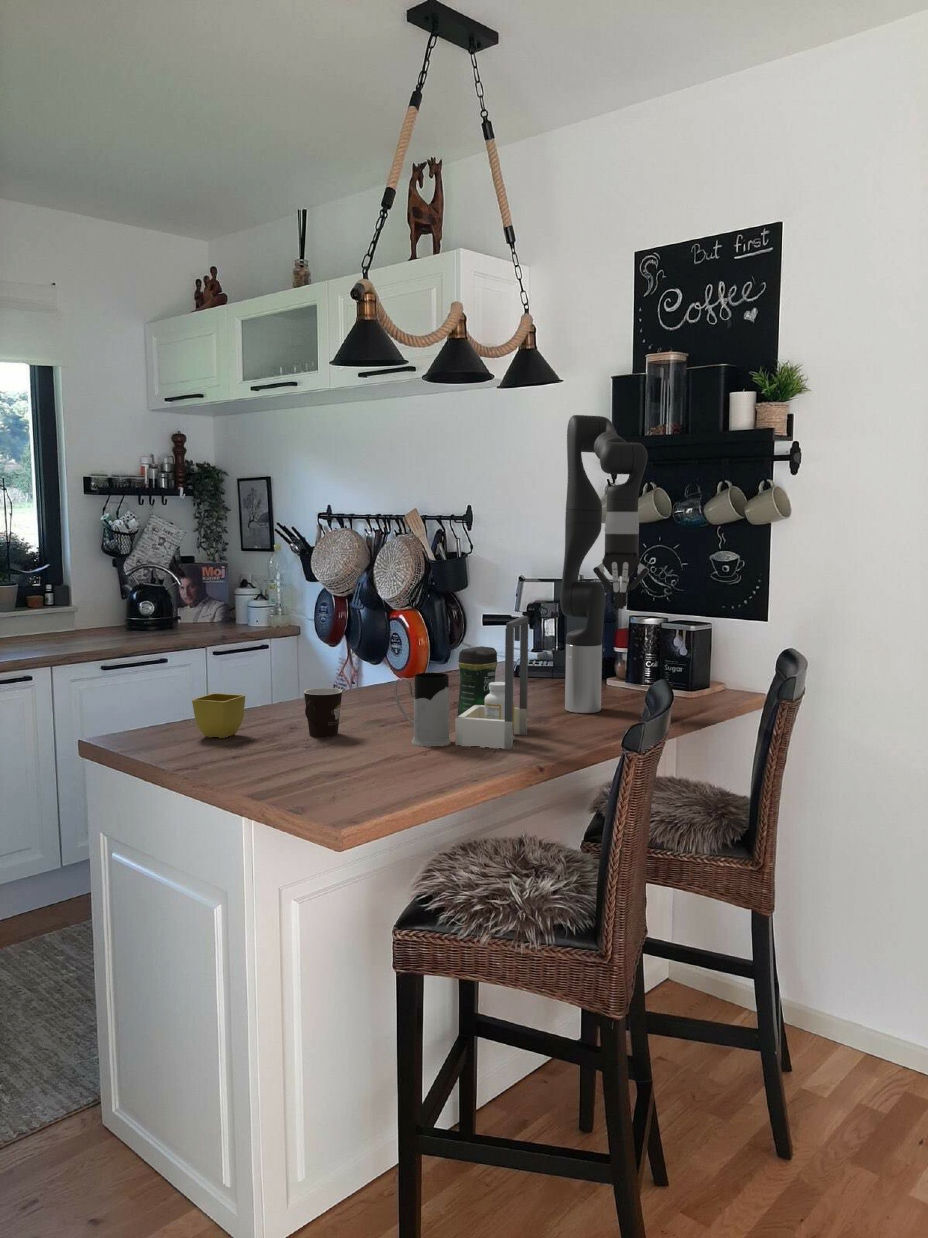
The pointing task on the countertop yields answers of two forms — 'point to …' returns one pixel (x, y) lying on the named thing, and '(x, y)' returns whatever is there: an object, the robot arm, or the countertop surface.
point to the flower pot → (219, 714)
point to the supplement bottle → (496, 702)
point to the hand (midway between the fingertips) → (620, 608)
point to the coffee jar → (475, 676)
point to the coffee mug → (323, 711)
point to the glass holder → (429, 709)
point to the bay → (500, 732)
